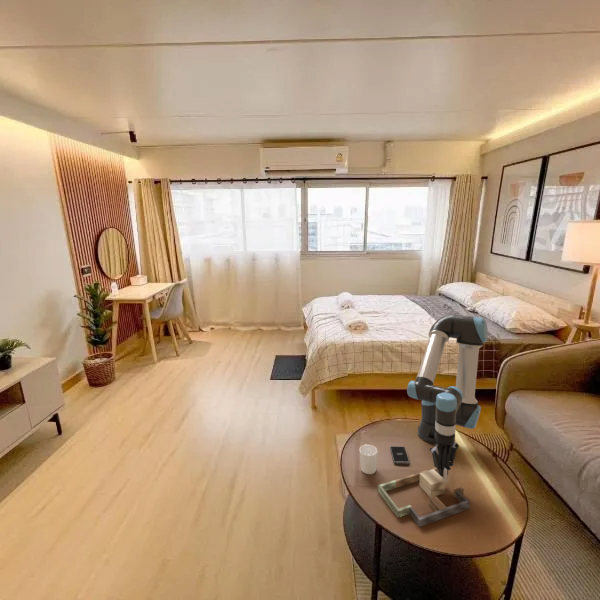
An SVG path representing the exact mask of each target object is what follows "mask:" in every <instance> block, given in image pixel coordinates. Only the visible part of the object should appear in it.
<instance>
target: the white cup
mask: <svg viewBox="0 0 600 600" xmlns="http://www.w3.org/2000/svg"><path fill="white" fill-rule="evenodd" d="M359 460H360V461H359V462H360V469H361V472H363V474H365V475H373V474H374V473H376V471H377V465H378V464H377V462H378V449H377V447H376V446H374V445H373V444H363V445H360V447H359Z"/></svg>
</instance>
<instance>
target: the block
mask: <svg viewBox="0 0 600 600" xmlns="http://www.w3.org/2000/svg"><path fill="white" fill-rule="evenodd" d="M421 472H422V471H421ZM445 481H446V480H445V479H444V478H443V477H441V476H440V475H439V474H438V473H437V472H436V471H435V470H434V469H432V470H429V471H426V472H422V473H420V480H419V483H418V484H419V487H420V488H421V489H422V490H423V492H425V494H427V496H428V497H429V498H431V497H434V496H436V497H438V496H441V495H444V494H445V493H446V484H445Z"/></svg>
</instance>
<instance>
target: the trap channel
mask: <svg viewBox="0 0 600 600" xmlns="http://www.w3.org/2000/svg"><path fill="white" fill-rule="evenodd" d="M432 469H434V470H435V471H436V472H437V473H438V474H439V470H438V469H437V468H436V467H435V466H434V467H431V468H429V469H425V470H423V471H419V472H416V473H413V474H409V475H407V476H402V477H400V478H397V479H393V480H391V481H388V482H384V483H381V484H378V485H377V492H378V494H379V495H380V496H381V497H382V499H383V501H384V502H385V503H386V505H387V506H388V507H389V508H390V510H391V511H392V512H393V514H394V513H395V514H394V515H395V516H396V518H397V517H398V518H397V519H400V518H402V516H403V517H405V515H406V516H407V515H409V516H410V517H411V518H412V520H413V521H414V522H415V523H416V525H417V526H418V527H419V528H421V527H424V526H427V525H429V524H432V523H434V522H437V521H440V520H443V519H445V518H447V517H450V516H453V515H456V514H458V513H461V512H463V511H467V510H469V509H470V507H471V506H470V505H471V504H470V503H471V501H470V500H469V499H467V497H466V496H464V495H465V494H464V492H465V488H464V487H463V486H460V487H457V488H454V489H453V497H454V498H455V499H456V500H457V501H458V503H455V504H452V505H450V506H446V505H445V504H444V503H443V502H442V501H441V500H440V499H439V498H438V496H434V497H431V498H430V497H429V498H428V500H429V501H428V506H430V507H431V509H432V510H433V512H431V513H426V514H425V515H422V516H420V515H419V514H418V513H417V512H416V510H415V509H414V508H413V507H412V505H411V504H408V505H405V506H402V507H398V505H397V504H396V502H394V501H393V500H392V498H391V497H390V495H389V494H388V492H387V491H390V490H394V489H397V488H400V487H402V486H407V485H409V484H412V483H415V482H418V481H419V482H420V473H422V472H426V471H429V470H432ZM399 517H400V518H399Z"/></svg>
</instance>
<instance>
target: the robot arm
mask: <svg viewBox="0 0 600 600" xmlns="http://www.w3.org/2000/svg"><path fill="white" fill-rule="evenodd" d="M487 323H488V322H487V320H486V319H485V318H484V317H479V316H471V315H462V314H461V315H460V314H447V315H443V316H441V317H440V318H438V319H437V320H436V321H435V322H434V323H433V324H432V325H431V327H430V329H429V332H428V342H427V345H426V347H425V351H424V354H423V356H422V360H421V363H420V367H419V369H418V372H417V375H416V378H415V380H410V381H409V382H408V384H407V388H406V393H407V396H408V397H410V398H412V399H415V400H417V401H418V400H419V401H421V418H420V419H421V420H420V422H419V425H418V427H417V435H418V436H419V438H420V439H422V440H423V441H425V442H428V443H430V444H434V447H433V448H432V447H430V448H429V451H430V453H431V455H432V456H431V457H432V461H433V465H434V468H435V467H436V468H437V469H438V470H439V475H440V476H441V477H443V478H444V479H445V480H446V481H445V485H447V483H448V475H449V471H451V467H453V466H454V462H455V459H456V454H457V450H458V449H459V446H460V445H459V444H458V443H457V442H456V426H458V427H462V428H464V429H465V428H467V429H471V430H473V429H475V428H476V427H477V424H478V421H479V419H480V414H481V412H482V411H481V410H482V407H481V406H480V405H478V404H479V402H478V400H477V398H476V395H475V394H476V386H477V385H476V384H477V376H478V375H477V373H478V364H479V353H480V348H482V347H484V343H487V342H488V336H489V334H488V332H489V331H488V324H487ZM450 338H452V339H456V340H455V341H456V342H455V343H456V344H457V345H458V359H457V366H456V367H457V369H456V378H455V379H456V380H455V386H453V385H451V386H448V387H447V388H446V387H443V386H437V385H434V382H435V379H436V376H437V373H438V369H439V367H440V366H439V365H440V362H441V359H442V356H443V353H444V350H445V345H446V343H447V342H449V341H450Z"/></svg>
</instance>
